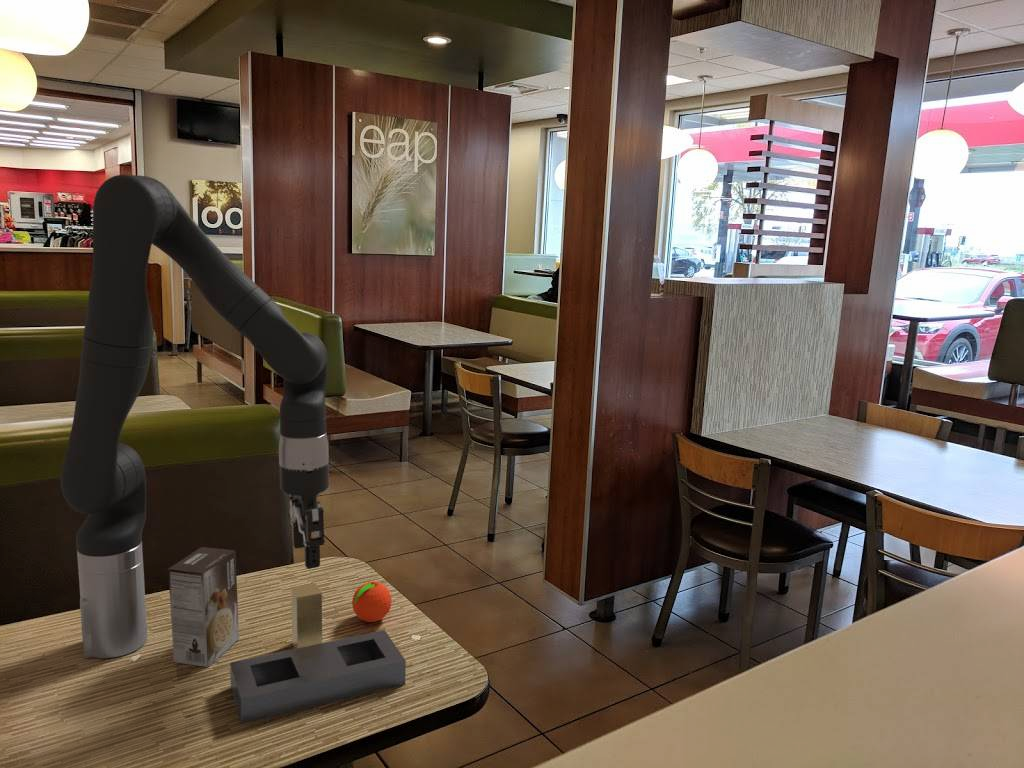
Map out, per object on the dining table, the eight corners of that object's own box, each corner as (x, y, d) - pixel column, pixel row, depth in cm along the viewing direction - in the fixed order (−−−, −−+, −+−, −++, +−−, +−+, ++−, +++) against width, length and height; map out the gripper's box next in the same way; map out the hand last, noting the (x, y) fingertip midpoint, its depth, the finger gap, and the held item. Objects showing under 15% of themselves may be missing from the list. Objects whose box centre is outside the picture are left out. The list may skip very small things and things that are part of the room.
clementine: (368, 636, 132) (369, 597, 131) (339, 624, 136) (339, 586, 134) (399, 617, 139) (400, 580, 137) (370, 606, 142) (370, 570, 141)
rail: (241, 724, 107) (240, 698, 106) (231, 686, 116) (230, 662, 115) (405, 684, 118) (405, 660, 118) (384, 652, 127) (384, 629, 126)
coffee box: (205, 634, 130) (202, 545, 127) (240, 639, 129) (237, 549, 126) (171, 663, 122) (167, 567, 118) (208, 668, 120) (204, 572, 117)
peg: (297, 654, 125) (296, 597, 123) (292, 642, 129) (291, 587, 127) (322, 649, 127) (321, 593, 125) (316, 637, 131) (315, 583, 129)
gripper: (271, 451, 126) (274, 544, 129) (289, 476, 114) (292, 578, 117) (316, 446, 130) (318, 537, 133) (339, 470, 117) (341, 570, 120)
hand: (306, 556), depth 125 cm, fingers open, 8 cm apart
